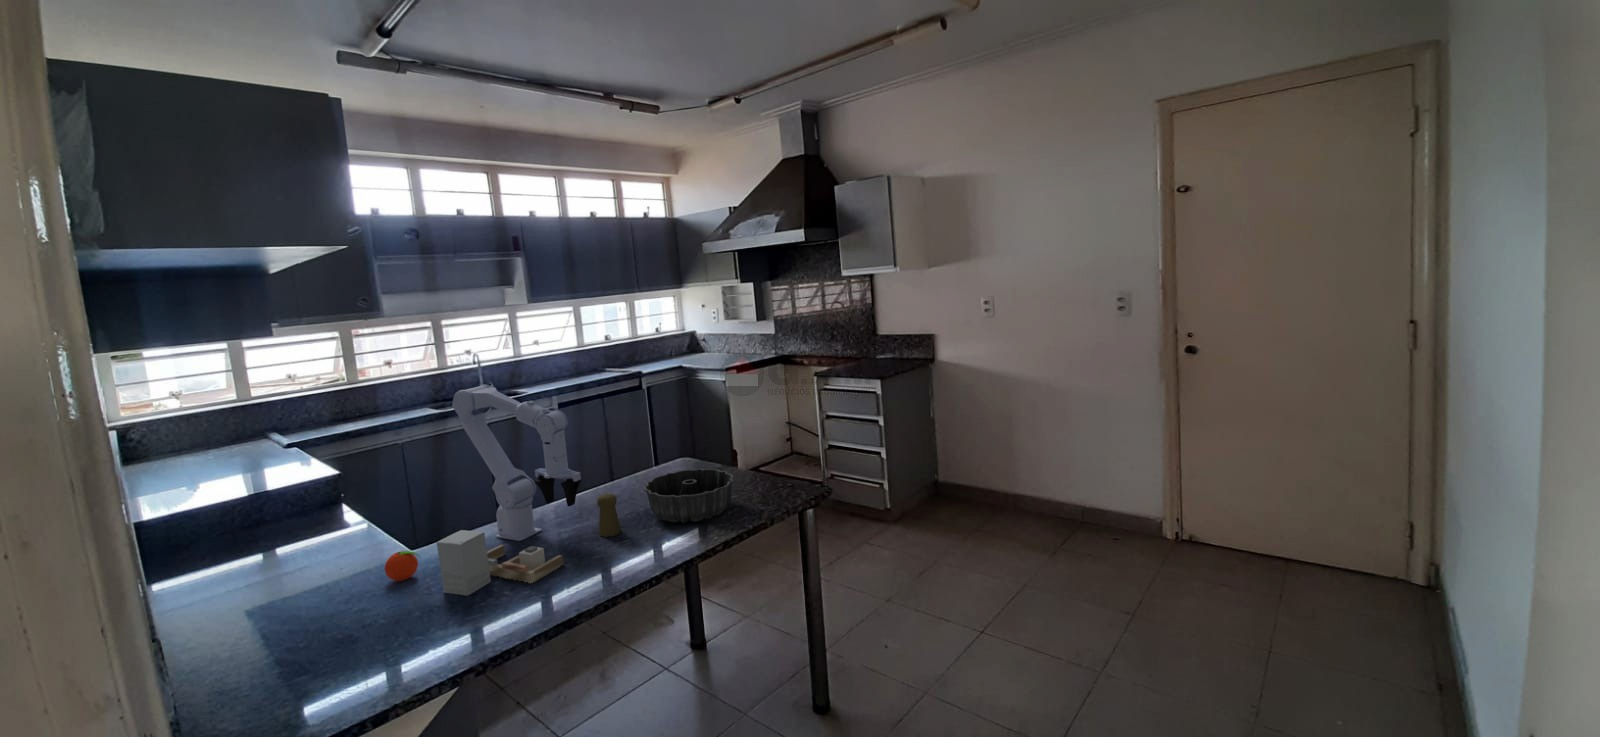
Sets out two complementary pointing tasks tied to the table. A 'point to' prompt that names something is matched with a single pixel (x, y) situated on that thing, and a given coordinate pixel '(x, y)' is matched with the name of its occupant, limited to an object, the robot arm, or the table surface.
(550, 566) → the socket board
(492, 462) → the robot arm
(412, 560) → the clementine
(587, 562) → the table surface
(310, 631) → the table surface
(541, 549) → the plug
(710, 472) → the bundt pan
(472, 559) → the supplement box
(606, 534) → the cork
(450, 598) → the table surface
